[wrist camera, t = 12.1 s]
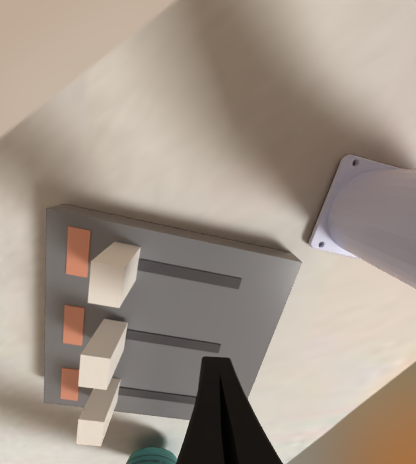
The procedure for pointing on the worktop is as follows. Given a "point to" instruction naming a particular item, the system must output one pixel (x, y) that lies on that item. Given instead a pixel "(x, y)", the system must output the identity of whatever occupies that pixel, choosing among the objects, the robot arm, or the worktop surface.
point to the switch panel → (153, 311)
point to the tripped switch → (102, 354)
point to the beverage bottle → (152, 456)
